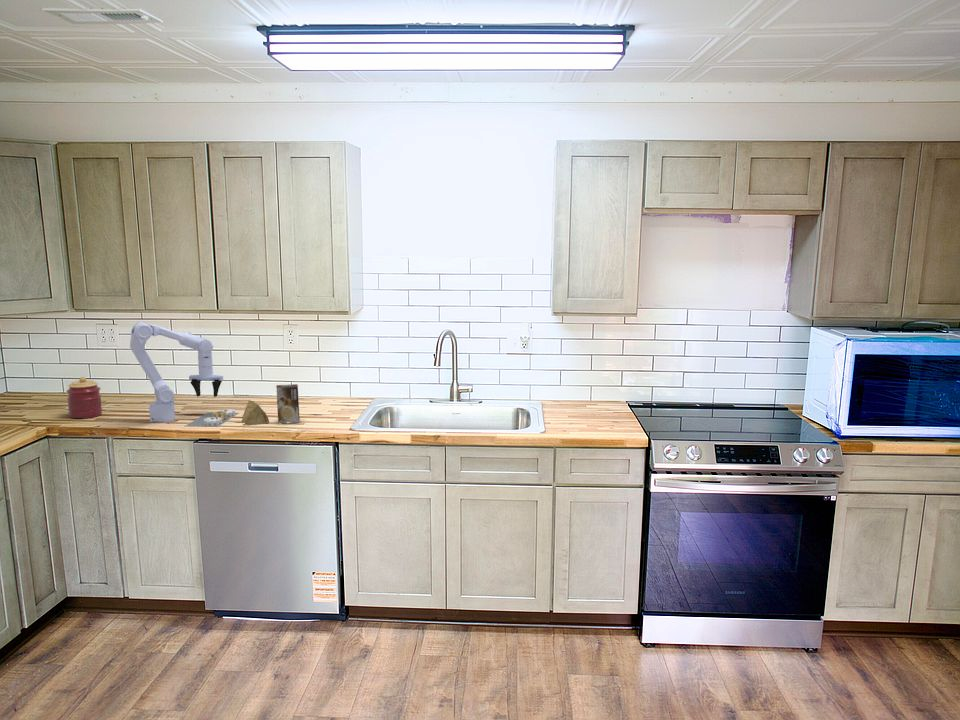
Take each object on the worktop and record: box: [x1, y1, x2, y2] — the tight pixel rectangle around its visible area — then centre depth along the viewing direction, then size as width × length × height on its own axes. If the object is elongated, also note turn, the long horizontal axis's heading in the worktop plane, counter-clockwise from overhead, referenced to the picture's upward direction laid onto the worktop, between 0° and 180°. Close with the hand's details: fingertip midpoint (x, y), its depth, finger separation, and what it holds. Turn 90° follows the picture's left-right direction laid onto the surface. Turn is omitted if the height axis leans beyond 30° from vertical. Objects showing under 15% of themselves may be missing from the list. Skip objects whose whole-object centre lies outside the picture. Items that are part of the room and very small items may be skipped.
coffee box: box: [275, 383, 301, 424], centre depth 287 cm, size 9×6×16 cm
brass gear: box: [212, 410, 227, 421], centre depth 286 cm, size 6×6×3 cm
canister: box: [66, 376, 103, 419], centre depth 292 cm, size 13×13×18 cm
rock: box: [241, 400, 270, 426], centre depth 283 cm, size 11×9×10 cm
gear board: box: [185, 408, 239, 428], centre depth 286 cm, size 14×24×4 cm, turn 179°
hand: (207, 396), depth 293 cm, fingers open, 7 cm apart
